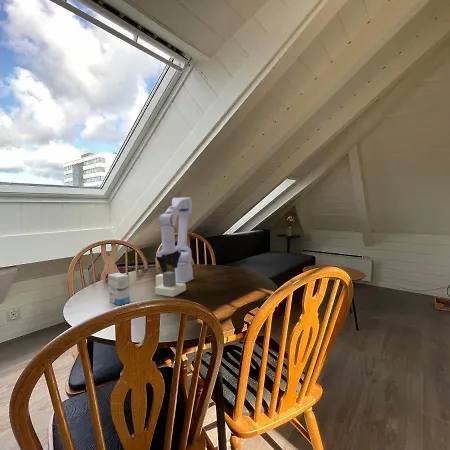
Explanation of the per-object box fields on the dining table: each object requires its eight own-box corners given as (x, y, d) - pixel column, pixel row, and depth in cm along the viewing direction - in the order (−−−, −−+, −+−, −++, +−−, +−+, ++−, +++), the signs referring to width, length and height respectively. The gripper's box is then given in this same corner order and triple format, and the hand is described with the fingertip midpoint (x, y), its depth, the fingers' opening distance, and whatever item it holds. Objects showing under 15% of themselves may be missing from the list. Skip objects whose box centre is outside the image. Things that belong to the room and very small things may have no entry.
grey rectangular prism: (168, 283, 133) (168, 271, 132) (175, 284, 131) (175, 272, 130) (163, 286, 129) (162, 273, 129) (170, 287, 127) (169, 274, 127)
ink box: (130, 302, 117) (128, 275, 116) (119, 306, 114) (117, 277, 113) (120, 298, 123) (118, 272, 122) (109, 301, 119) (107, 274, 118)
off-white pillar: (161, 285, 141) (160, 273, 141) (167, 286, 139) (167, 274, 139) (156, 287, 138) (155, 275, 137) (162, 288, 136) (162, 276, 135)
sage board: (168, 287, 137) (168, 281, 136) (185, 290, 132) (185, 283, 132) (154, 294, 128) (154, 287, 127) (173, 296, 123) (172, 290, 123)
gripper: (170, 237, 136) (172, 265, 137) (150, 242, 123) (152, 272, 125) (183, 238, 133) (184, 266, 134) (163, 242, 120) (165, 274, 121)
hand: (169, 269), depth 129 cm, fingers open, 7 cm apart
